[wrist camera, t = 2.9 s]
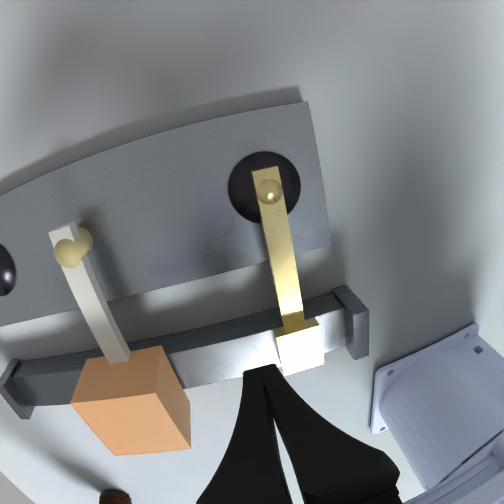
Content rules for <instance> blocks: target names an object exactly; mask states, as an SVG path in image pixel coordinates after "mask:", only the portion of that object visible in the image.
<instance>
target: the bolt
mask: <svg viewBox="0 0 504 504" xmlns="http://www.w3.org/2000/svg"><path fill="white" fill-rule="evenodd" d="M99 500H100V501H99V504H132V502H131V500H132V499H131V498H130V497H129V496H127V495H125V494H124V493H123V492H120V491H105V492H103V493H101V494H100V499H99Z"/></svg>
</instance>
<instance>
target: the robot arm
mask: <svg viewBox="0 0 504 504" xmlns="http://www.w3.org/2000/svg"><path fill="white" fill-rule="evenodd" d="M478 332H479V325H478V324H477V323H474V324H472V325H470V326H468V327H466V328H465V329H463V330H461V331H459V332H457V333H455V334H453V335H451V336H449V337H447V338H445V339H443V340H441V341H439V342H437V343H435V344H433V345H431V346H429V347H427V348H425V349H423V350H420V351H418V352H416V353H414V354H412V355H409V356H407V357H405V358H403V359H400V360H398V361H396V362H393V363H391V364H388V365H386V366H384V367H381V368H379V369H378V370H377V372H376V374H375V383H374V396H373V407H372V417H371V426H370V432H371V434H372V435H375V434H378V433H380V432H383V431H385V430H387V429H389V430H390V432H391V434H392V435H393V437H394V439H395V440H396V442H397V444H398V445H399V447H400V449H401V451H402V452H403V454H404V456H405V457H406V459H407V461H408V463H409V464H410V466H411V468H412V469H413V471H414V473H415V475H416V476H417V478H418V480H419V482H420V483H421V485H422V487H423V489H424V490H425V492H424V493H422V494H420V495H418V496H416V497H414V498H412V499H410V500H408V501H406V502H404V503H402V501H401V500H400V498H399V496H398V494H399V491H398V489H397V487H396V482H397V480H398V478H399V475H400V471H399V469H398V468H397V466H396V465H395V463H394V462H393V461H392V460H391V459H390V458H389V457H388V456H387V455H386V454H385V453H384V452H383V451H381V450H378V449H376V448H374V447H371V446H369V445H367V444H365V443H363V442H361V441H359V440H357V439H355V438H353V437H351V436H350V435H348V434H346V433H345V432H343V431H341V430H340V429H338V428H337V427H335V426H334V425H332V424H331V423H330V422H328V421H327V420H326V419H324V418H323V417H322V416H320V415H319V414H318V413H317V412H316V411H315V410H313V409H312V408H311V407H310V406H309V405H308V404H307V403H306V402H305V401H304V400H303V399H302V398H301V397H300V396H299V395H298V394H297V393H296V392H295V391H294V389H293V388H292V387H291V386H290V385H289V383H288V382H287V381H286V380H285V378H284V377H283V375H282V374H281V372H280V371H279V369H278V367H277V365H276V364H274V363H272V364H268V365H265V366H261V367H257V368H253V369H249V370H245V371H244V372H243V388H242V397H241V402H240V408H239V413H238V417H237V420H236V424H235V428H234V431H233V434H232V437H231V440H230V443H229V445H228V448H227V450H226V452H225V455H224V457H223V459H222V461H221V463H220V465H219V467H218V469H217V471H216V472H215V474H214V476H213V478H212V480H211V481H210V483H209V484H208V486H207V487H206V489H205V490H204V492H203V493H202V494H201V496H200V497H199V499H198V500H197V502H196V504H293V502H292V499H291V496H290V492H289V489H288V485H287V482H286V479H285V475H284V472H283V468H282V464H281V459H280V454H279V448H278V442H277V436H276V430H275V425H274V421H275V423H276V426H277V428H278V430H279V433H280V435H281V438H282V440H283V443H284V445H285V447H286V450H287V452H288V455H289V457H290V460H291V462H292V465H293V468H294V472H295V475H296V478H297V482H298V485H299V488H300V491H301V494H302V498H303V501H304V504H504V358H503V357H502V356H501V355H500V354H499V353H498V352H497V351H496V350H495V349H494V348H493V347H491V346H490V345H489V344H488V343H487V342H486V341H485V340H484V339H483V338H481V337H480V336H479V335H478ZM273 418H274V419H273Z"/></svg>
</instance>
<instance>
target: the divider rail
mask: <svg viewBox="0 0 504 504" xmlns="http://www.w3.org/2000/svg"><path fill="white" fill-rule="evenodd" d="M250 174H251V179H252V183H253V191H254V194H255V197H256V202H257V207H258V211H259V216H260V221H261V226H262V230H263V235H264V240H265V245H266V249H267V254H268V259H269V264H270V269H271V274H272V278H273V283H274V288H275V293H276V298H277V303H278V308H276V309H273V310H269V311H265V312H262V313H258V314H254V315H250V316H246V317H242V318H239V319H235V320H231V321H227V322H223V323H219V324H214V325H210V326H206V327H202V328H198V329H193V330H189V331H185V332H180V333H176V334H171V335H167V336H162V337H158V338H153V339H148V340H143V341H138V342H133V343H128V344H127V346H128V348H129V350H130V351H135V350H140V349H145V348H150V347H155V346H160V345H161V346H162V348H163V350H164V352H165V354H166V356H167V358H168V360H169V362H170V364H171V367H172V369H173V371H174V373H175V375H176V377H177V379H178V381H179V383H180V385H181V387H182V388H183V389H186V388H192V387H197V386H202V385H206V384H211V383H216V382H220V381H225V380H229V379H233V378H238V377H242V376H243V372H244V371H245V370H249V369H253V368H257V367H261V366H265V365H268V364H272V363H274V364H276V365H277V367H280V366H281V367H282V370H283V372H284V375H288V374H291V373H294V372H298V371H301V370H304V369H308V368H311V367H314V366H317V365H321V364H324V359H323V354H324V353H327V352H330V351H333V350H336V349H339V348H342V347H346V348H347V350H348V351H349V353H350V354H351V356H352V358H353V359H354V360H357V359H359V358H362V357H365V356H368V355H369V310H368V309H367V307H366V306H365V305H364V304H363V303H362V302H361V301H360V300H359V298H358V297H357V296H356V295H355V294H354V293H353V292H352V291H351V290H350V288H349V287H348V286H347V285H344V286H341V287H337V288H334V289H332V293H329V294H325V295H322V296H319V297H315V298H312V299H308V300H305V301H302V299H301V293H300V287H299V280H298V274H297V268H296V262H295V256H294V250H293V245H292V239H291V233H290V228H289V222H288V216H287V211H286V206H285V200H284V195H283V190H282V184H281V179H280V174H279V169H278V166H276V165H270V166H266V167H261V168H257V169H252V170H250ZM103 356H105V355H104V353H103V352H102V350H101V349H97V350H91V351H86V352H80V353H74V354H68V355H62V356H56V357H49V358H43V359H36V360H29V361H20V360H19V359H16V360H11V361H10V363H9V365H8V366H7V368H6V369H5V371H4V373H3V374H2V376H1V378H0V393H1V395H2V396H3V397H4V399H5V400H6V401H7V403H8V404H9V405H10V406H11V408H12V409H13V410H14V411H15V412H16V414H17V415H18V416H19V417H20V418H21V419H30V416H31V414H32V412H33V409H34V407H35V406H47V405H64V404H70V402H71V399H72V396H73V394H74V391H75V388H76V386H77V383H78V380H79V378H80V375H81V372H82V370H83V367H84V365H85V362H86V360H87V359H91V358H97V357H103Z"/></svg>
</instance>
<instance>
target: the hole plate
mask: <svg viewBox="0 0 504 504" xmlns="http://www.w3.org/2000/svg"><path fill="white" fill-rule="evenodd" d="M270 165H276V166H278V169H279V174H280V179H281V184H282V190H283V195H284V200H285V206H286V211H287V216H288V222H289V228H290V233H291V239H292V245H293V250H294V254H297V253H301V252H304V251H308V250H312V249H316V248H320V247H323V246H327V245H331V238H330V230H329V223H328V215H327V208H326V201H325V194H324V188H323V181H322V175H321V169H320V163H319V157H318V151H317V146H316V140H315V135H314V129H313V124H312V119H311V114H310V109H309V104H308V102H300V103H293V104H287V105H281V106H275V107H269V108H263V109H258V110H252V111H247V112H242V113H237V114H233V115H228V116H223V117H219V118H215V119H210V120H206V121H202V122H198V123H194V124H190V125H186V126H182V127H179V128H175V129H171V130H168V131H164V132H161V133H158V134H154V135H151V136H148V137H144V138H141V139H138V140H135V141H132V142H129V143H126V144H123V145H120V146H117V147H114V148H111V149H108V150H105V151H103V152H100V153H97V154H94V155H92V156H89V157H86V158H84V159H81V160H79V161H76V162H74V163H71V164H69V165H66V166H64V167H61V168H59V169H57V170H54V171H52V172H50V173H47V174H45V175H43V176H41V177H38V178H36V179H34V180H32V181H30V182H27V183H25V184H23V185H21V186H19V187H17V188H15V189H13V190H11V191H9V192H7V193H5V194H3V195H1V196H0V327H1V326H5V325H10V324H14V323H18V322H23V321H27V320H31V319H36V318H40V317H44V316H48V315H53V314H57V313H61V312H65V311H70V310H74V309H78V308H80V307H79V305H78V303H77V301H76V299H75V297H74V295H73V292H72V290H71V288H70V286H69V284H68V281H67V279H66V277H65V274H64V272H63V270H62V267H61V265H60V264H59V263H58V261H57V260H56V258H55V254H54V247H53V244H52V242H51V239H50V236H49V234H48V233H49V232H50V231H52V230H53V229H54V228H57V227H60V226H62V225H65V224H68V223H71V222H74V221H75V224H76V227H82V228H85V229H86V230H88V231H89V232H90V234H91V236H92V238H93V246H92V249H91V250H90V251H89V253H88V254H87V257H88V259H89V262H90V264H91V267H92V269H93V272H94V274H95V277H96V279H97V282H98V284H99V286H100V289H101V291H102V293H103V295H104V298H105V300H106V302H107V301H111V300H115V299H119V298H123V297H128V296H132V295H136V294H140V293H144V292H148V291H152V290H156V289H160V288H164V287H168V286H172V285H176V284H180V283H184V282H188V281H192V280H196V279H200V278H204V277H208V276H212V275H216V274H220V273H223V272H227V271H231V270H235V269H239V268H243V267H247V266H251V265H255V264H258V263H262V262H266V261H269V259H268V254H267V249H266V245H265V240H264V235H263V230H262V226H261V221H260V216H259V211H258V207H257V202H256V197H255V194H254V191H253V183H252V179H251V174H250V170H252V169H257V168H261V167H266V166H270Z"/></svg>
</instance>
